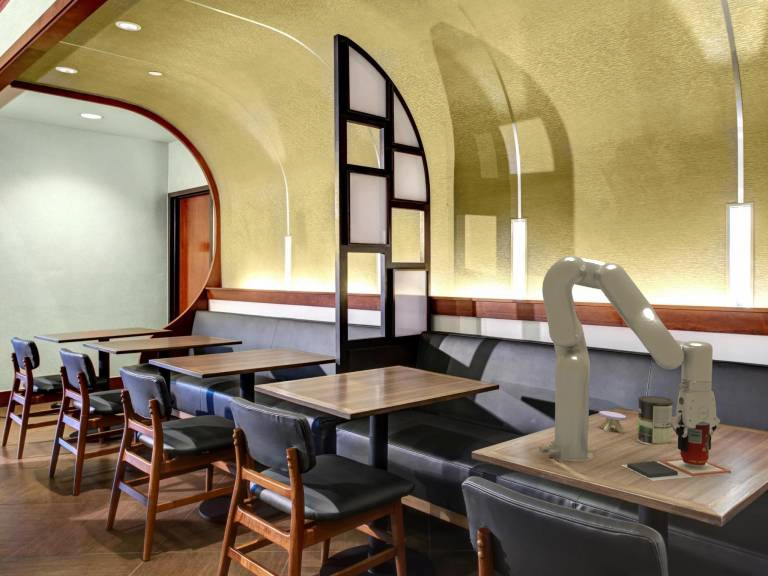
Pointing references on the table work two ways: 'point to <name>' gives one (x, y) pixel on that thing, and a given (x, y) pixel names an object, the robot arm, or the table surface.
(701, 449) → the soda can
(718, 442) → the table surface
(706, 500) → the table surface
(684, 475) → the board
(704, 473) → the red bordered square panel
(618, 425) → the toy table
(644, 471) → the ink pad
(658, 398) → the coffee can
